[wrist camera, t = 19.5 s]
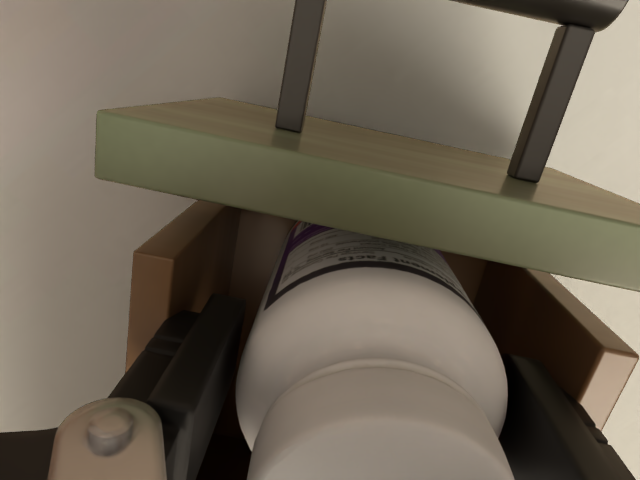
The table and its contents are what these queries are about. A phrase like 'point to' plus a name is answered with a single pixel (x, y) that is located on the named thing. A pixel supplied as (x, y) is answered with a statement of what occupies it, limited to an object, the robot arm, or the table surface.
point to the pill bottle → (369, 367)
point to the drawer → (382, 212)
